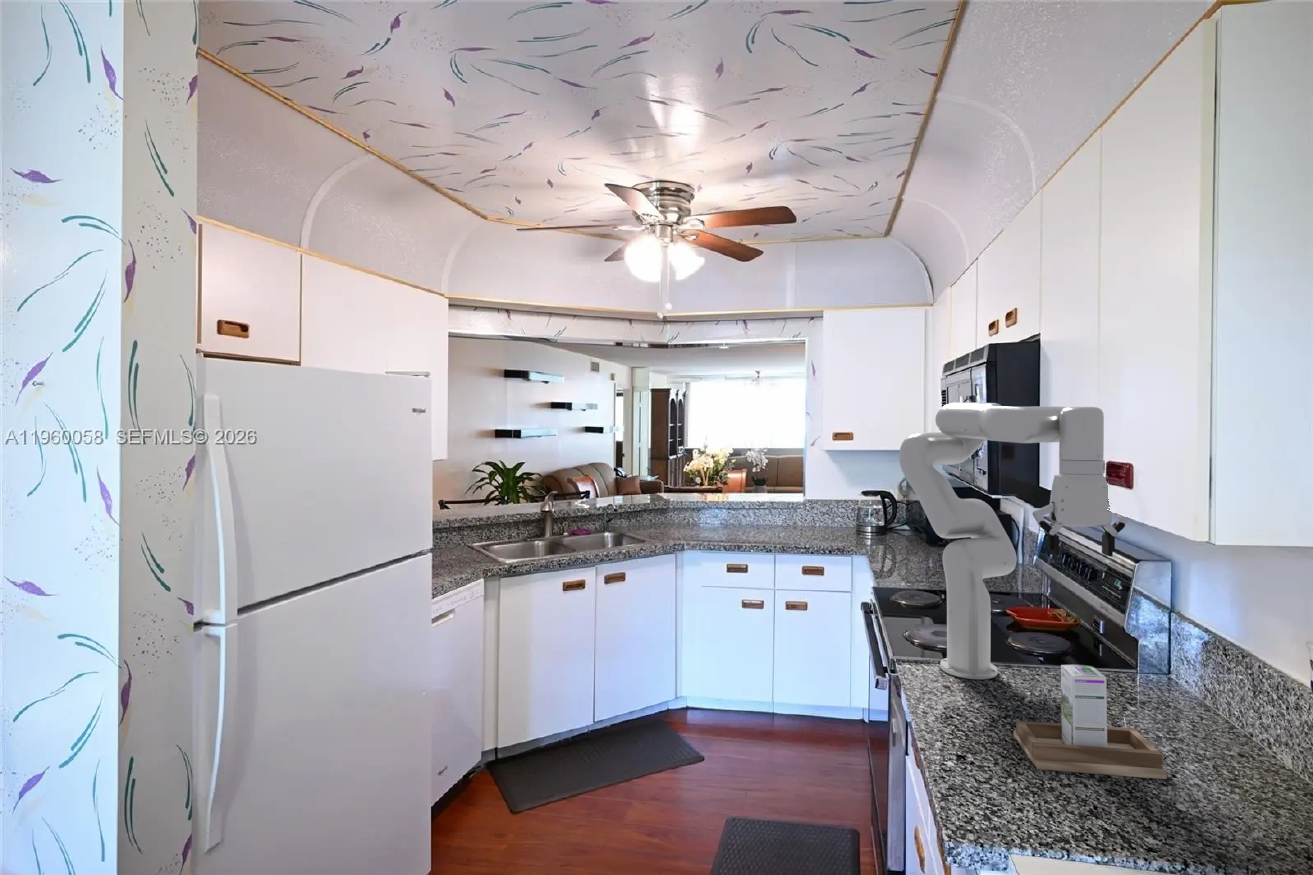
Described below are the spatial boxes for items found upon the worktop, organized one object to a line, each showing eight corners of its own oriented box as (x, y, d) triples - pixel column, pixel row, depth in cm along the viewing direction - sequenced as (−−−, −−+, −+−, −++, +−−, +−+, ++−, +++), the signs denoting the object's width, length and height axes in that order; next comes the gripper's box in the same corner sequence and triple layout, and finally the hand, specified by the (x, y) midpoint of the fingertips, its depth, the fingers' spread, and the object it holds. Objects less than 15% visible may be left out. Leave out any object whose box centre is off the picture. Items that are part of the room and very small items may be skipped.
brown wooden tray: (1013, 735, 133) (1013, 717, 133) (1129, 743, 129) (1129, 724, 129) (1037, 769, 120) (1037, 749, 120) (1166, 779, 116) (1167, 758, 116)
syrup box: (1108, 758, 122) (1109, 676, 121) (1071, 756, 123) (1072, 674, 122) (1094, 743, 127) (1095, 665, 127) (1059, 741, 128) (1059, 663, 128)
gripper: (1120, 467, 140) (1119, 552, 141) (1027, 467, 143) (1027, 550, 144) (1138, 470, 133) (1137, 559, 133) (1040, 470, 136) (1039, 557, 136)
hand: (1080, 554), depth 139 cm, fingers open, 9 cm apart
